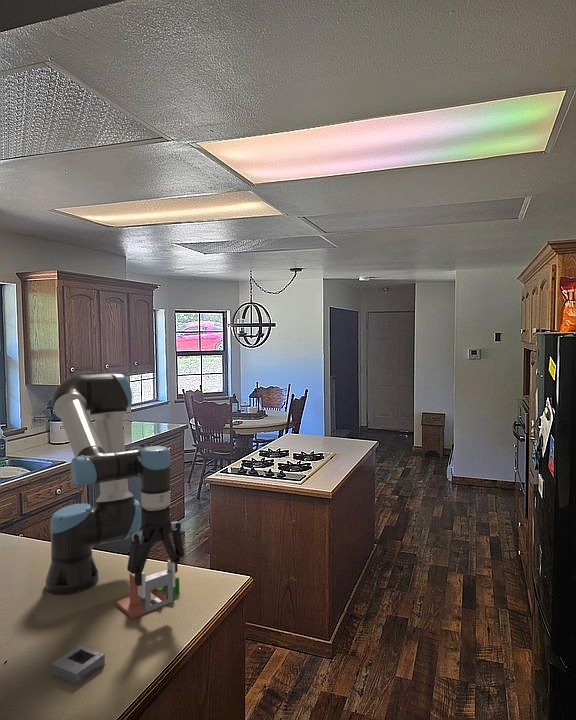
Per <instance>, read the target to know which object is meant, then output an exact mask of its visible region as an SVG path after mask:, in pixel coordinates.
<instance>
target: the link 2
mask: <svg viewBox="0 0 576 720" xmlns="http://www.w3.org/2000/svg"><path fill="white" fill-rule="evenodd" d="M161 587H163V593H164V594H166V596H167V597H166V599H165V600H164V601H161V600H160V599H159V598H158V597H155V598H153V599H152V593H151V591H153V590H155V589H158V588H161ZM145 595H146V598H141V609H142V610H144V611H145V612H147V611H150V610H152V609H155V608H157V607H159V608H160V607H162V606H165V605H167V604H169V603H173V602H174V600H173V572H171V571H170V570H168V569H167V568H166V569H165V570H161V571H158V572H156V573H153V574H150V575H145ZM151 599H152V600H151ZM150 612H151V611H150Z"/></svg>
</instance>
